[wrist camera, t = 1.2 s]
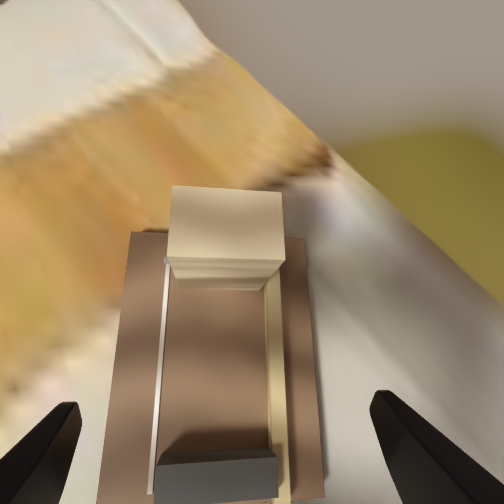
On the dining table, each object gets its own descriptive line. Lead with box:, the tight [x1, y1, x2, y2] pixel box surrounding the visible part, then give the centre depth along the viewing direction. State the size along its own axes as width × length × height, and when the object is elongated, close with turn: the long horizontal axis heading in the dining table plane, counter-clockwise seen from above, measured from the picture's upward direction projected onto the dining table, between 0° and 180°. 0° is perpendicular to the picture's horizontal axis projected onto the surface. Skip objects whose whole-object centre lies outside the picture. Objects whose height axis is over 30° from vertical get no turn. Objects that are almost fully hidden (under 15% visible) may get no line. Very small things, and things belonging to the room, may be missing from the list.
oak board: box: [96, 232, 325, 504], centre depth 20 cm, size 18×14×3 cm
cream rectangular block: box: [164, 185, 285, 290], centre depth 19 cm, size 4×7×8 cm, turn 91°
